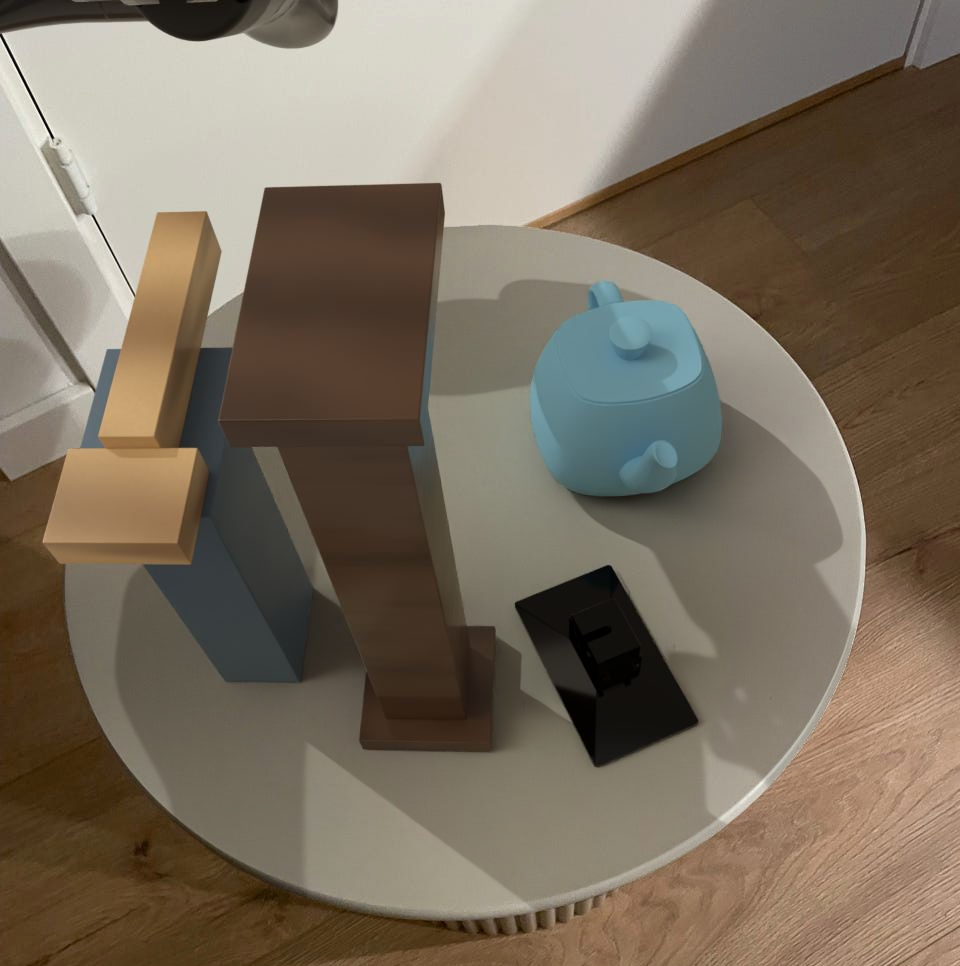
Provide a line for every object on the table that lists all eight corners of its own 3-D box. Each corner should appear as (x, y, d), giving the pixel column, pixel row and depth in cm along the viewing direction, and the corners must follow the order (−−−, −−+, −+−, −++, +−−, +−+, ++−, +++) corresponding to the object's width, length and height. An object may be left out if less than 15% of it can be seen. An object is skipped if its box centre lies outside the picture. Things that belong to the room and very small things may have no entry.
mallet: (142, 253, 54) (123, 212, 52) (254, 250, 54) (240, 209, 51) (59, 564, 46) (33, 532, 43) (191, 565, 45) (171, 533, 43)
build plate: (513, 606, 68) (510, 569, 64) (613, 565, 69) (616, 527, 65) (595, 768, 62) (597, 740, 58) (703, 722, 63) (713, 691, 59)
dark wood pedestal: (379, 588, 69) (251, 186, 40) (498, 589, 68) (454, 181, 40) (362, 750, 64) (202, 421, 35) (491, 752, 63) (434, 419, 35)
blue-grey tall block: (229, 568, 70) (106, 348, 51) (330, 568, 70) (243, 346, 51) (205, 703, 66) (60, 517, 47) (313, 704, 65) (210, 517, 46)
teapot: (567, 482, 59) (505, 259, 67) (566, 576, 68) (512, 371, 76) (782, 439, 59) (694, 223, 67) (751, 539, 69) (678, 339, 77)
